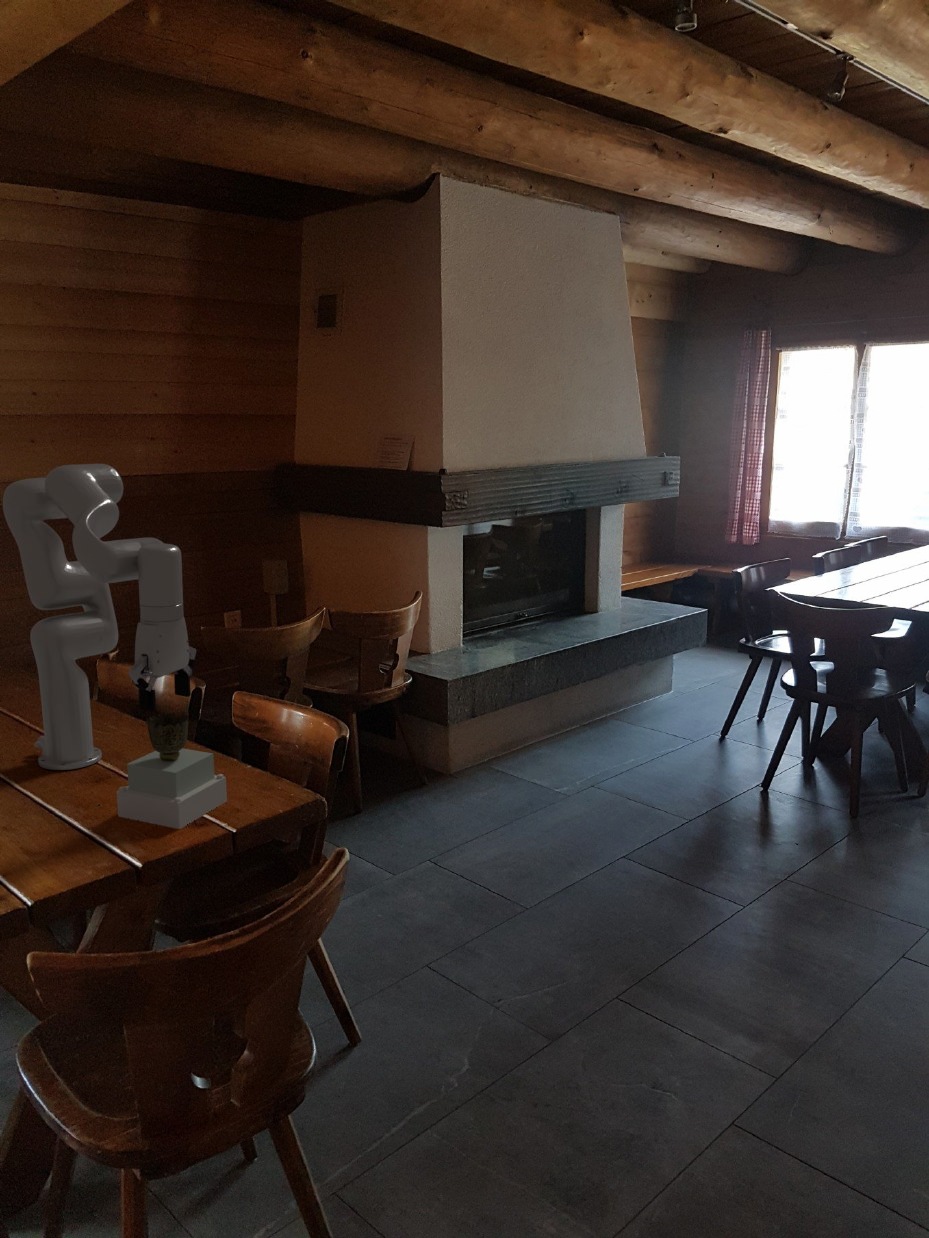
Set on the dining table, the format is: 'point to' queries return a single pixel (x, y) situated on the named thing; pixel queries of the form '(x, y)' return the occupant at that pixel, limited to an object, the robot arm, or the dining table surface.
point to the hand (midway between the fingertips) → (165, 702)
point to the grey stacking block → (171, 789)
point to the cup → (168, 734)
